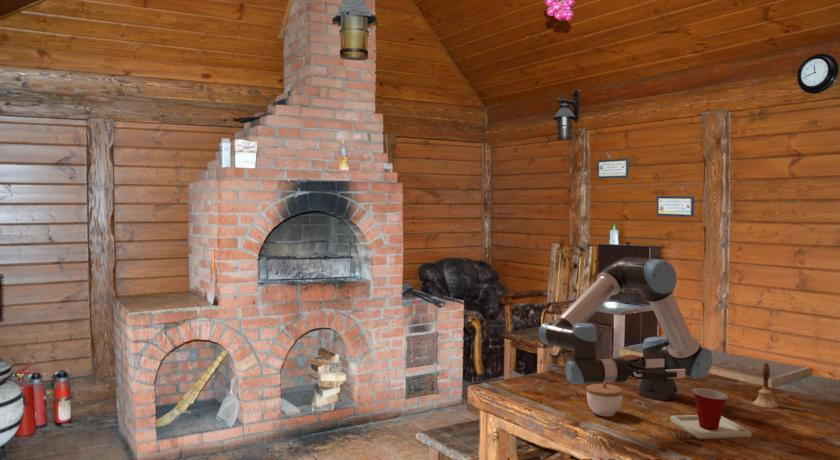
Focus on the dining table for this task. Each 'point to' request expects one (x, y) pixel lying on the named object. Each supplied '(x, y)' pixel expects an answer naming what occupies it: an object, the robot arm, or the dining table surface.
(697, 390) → the plastic cup
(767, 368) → the hand bell
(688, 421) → the tray
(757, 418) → the dining table surface
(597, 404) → the lidded bowl
